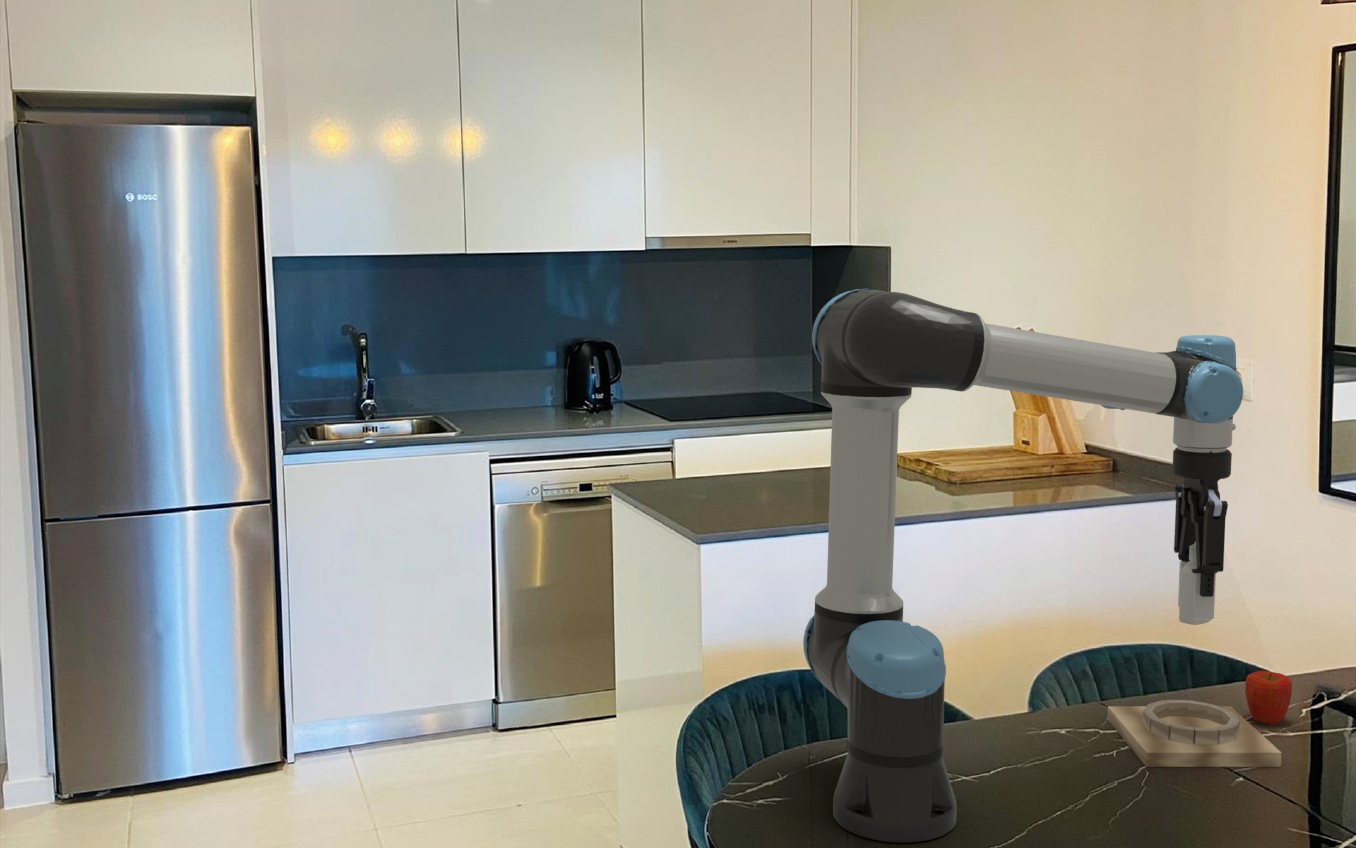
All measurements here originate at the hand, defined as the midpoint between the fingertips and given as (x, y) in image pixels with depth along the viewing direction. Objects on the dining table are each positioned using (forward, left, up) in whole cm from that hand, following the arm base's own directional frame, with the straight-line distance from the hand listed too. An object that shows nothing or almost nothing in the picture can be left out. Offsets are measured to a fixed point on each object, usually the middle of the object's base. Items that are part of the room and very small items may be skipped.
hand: (1195, 612), depth 184 cm
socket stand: (0, 0, -19) cm, 19 cm away
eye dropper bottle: (0, 0, -1) cm, 1 cm away
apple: (+14, +8, -19) cm, 25 cm away
